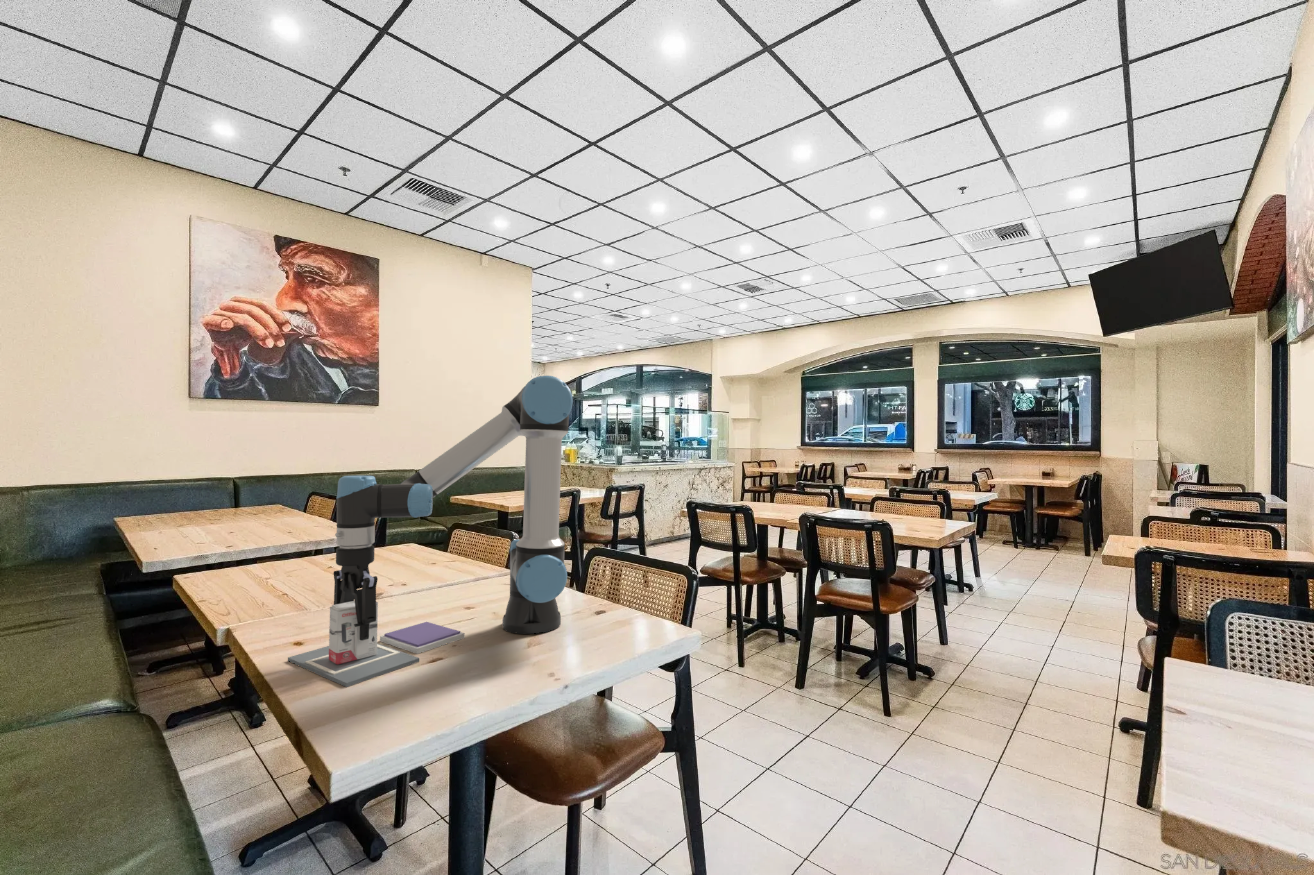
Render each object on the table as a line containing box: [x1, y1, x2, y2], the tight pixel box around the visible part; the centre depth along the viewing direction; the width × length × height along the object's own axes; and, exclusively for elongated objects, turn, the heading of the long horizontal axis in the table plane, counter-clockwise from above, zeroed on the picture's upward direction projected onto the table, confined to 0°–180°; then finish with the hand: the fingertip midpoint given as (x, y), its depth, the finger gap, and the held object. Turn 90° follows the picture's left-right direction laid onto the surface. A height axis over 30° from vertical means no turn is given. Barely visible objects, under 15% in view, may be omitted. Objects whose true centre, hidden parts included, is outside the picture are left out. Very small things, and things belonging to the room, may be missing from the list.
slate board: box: [287, 642, 420, 688], centre depth 125 cm, size 24×16×1 cm, turn 57°
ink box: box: [328, 601, 379, 665], centre depth 125 cm, size 9×5×12 cm, turn 139°
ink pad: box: [379, 621, 466, 655], centre depth 139 cm, size 15×13×2 cm
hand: (353, 650), depth 125 cm, fingers closed on ink box, 5 cm apart
